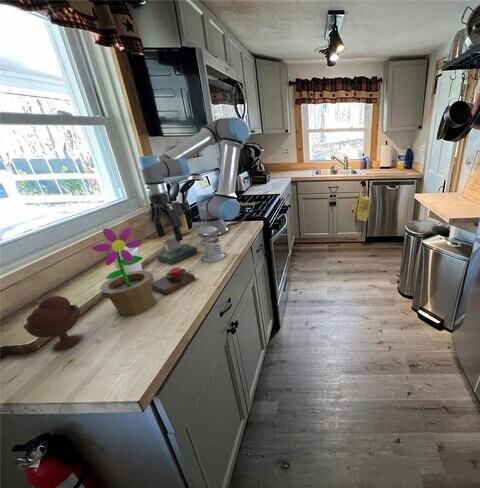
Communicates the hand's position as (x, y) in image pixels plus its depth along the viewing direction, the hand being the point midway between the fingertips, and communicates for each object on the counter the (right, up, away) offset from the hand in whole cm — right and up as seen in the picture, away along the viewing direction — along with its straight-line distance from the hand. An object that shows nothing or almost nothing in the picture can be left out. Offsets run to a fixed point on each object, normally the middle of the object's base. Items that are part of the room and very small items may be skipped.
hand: (170, 238), depth 121 cm
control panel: (+1, -9, +5) cm, 10 cm away
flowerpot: (+7, -24, -31) cm, 40 cm away
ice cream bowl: (-2, -31, -47) cm, 56 cm away
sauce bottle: (-12, +3, +33) cm, 36 cm away
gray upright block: (0, -6, +3) cm, 7 cm away
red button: (+13, -14, -18) cm, 27 cm away
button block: (+12, -18, -18) cm, 29 cm away
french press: (+19, -9, +2) cm, 21 cm away
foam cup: (-7, -17, -14) cm, 23 cm away
